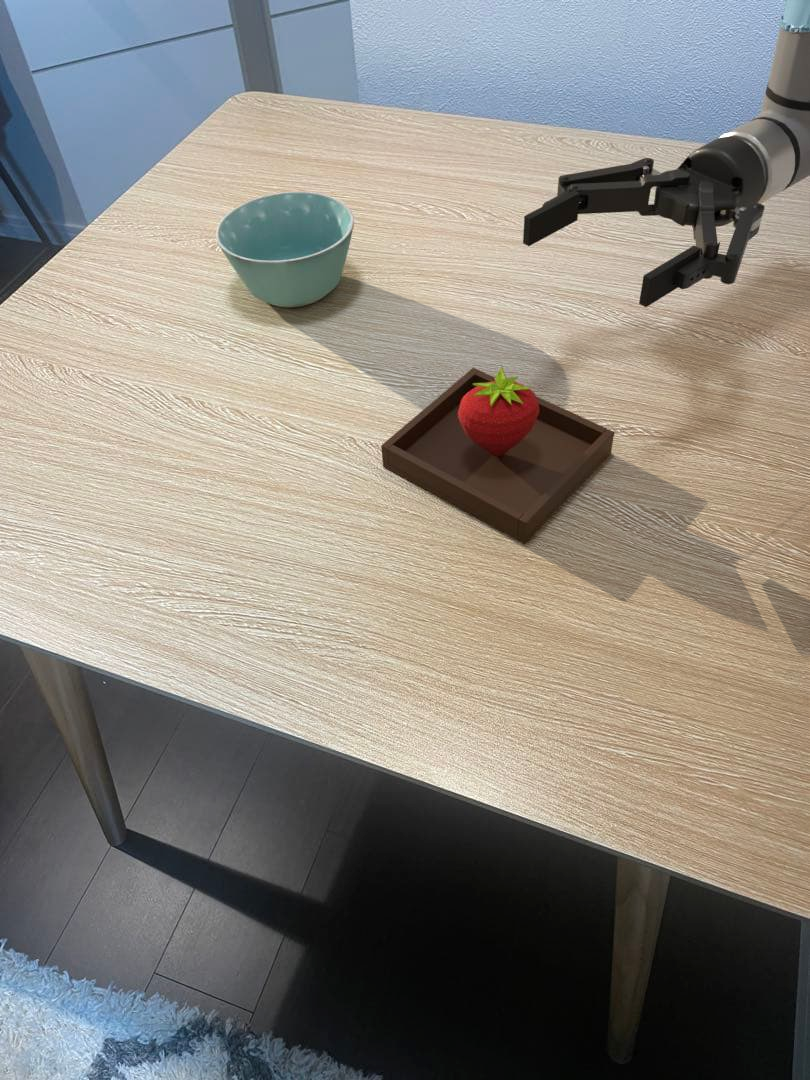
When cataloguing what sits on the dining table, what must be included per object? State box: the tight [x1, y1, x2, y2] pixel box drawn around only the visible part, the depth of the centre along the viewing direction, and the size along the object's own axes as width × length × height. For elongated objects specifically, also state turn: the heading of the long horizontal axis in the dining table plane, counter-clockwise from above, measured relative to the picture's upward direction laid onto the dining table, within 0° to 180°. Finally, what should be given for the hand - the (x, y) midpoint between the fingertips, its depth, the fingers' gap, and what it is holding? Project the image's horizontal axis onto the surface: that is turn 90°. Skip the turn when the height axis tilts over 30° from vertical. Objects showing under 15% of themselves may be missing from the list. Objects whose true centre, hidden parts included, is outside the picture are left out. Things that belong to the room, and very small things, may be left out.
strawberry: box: [458, 363, 539, 456], centre depth 84 cm, size 6×8×10 cm
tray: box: [380, 367, 615, 545], centre depth 87 cm, size 17×15×3 cm
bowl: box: [215, 191, 355, 308], centre depth 107 cm, size 16×16×8 cm
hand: (582, 260), depth 79 cm, fingers open, 13 cm apart
